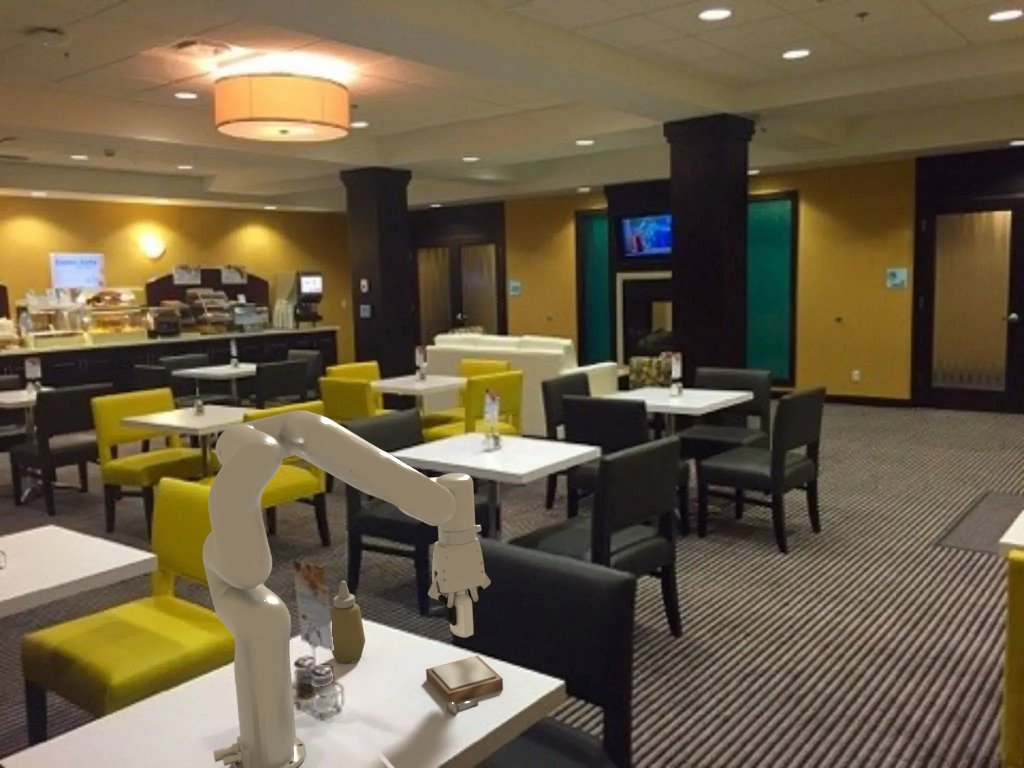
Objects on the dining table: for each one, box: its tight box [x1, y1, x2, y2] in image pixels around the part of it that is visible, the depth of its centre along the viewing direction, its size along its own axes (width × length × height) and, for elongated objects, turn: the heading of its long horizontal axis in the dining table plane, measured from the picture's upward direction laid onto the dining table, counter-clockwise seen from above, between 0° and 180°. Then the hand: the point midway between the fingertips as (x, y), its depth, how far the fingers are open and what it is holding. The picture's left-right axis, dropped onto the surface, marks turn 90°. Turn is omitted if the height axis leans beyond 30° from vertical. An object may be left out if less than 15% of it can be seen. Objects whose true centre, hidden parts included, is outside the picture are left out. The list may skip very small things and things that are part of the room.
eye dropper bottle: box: [449, 590, 474, 638], centre depth 176 cm, size 4×6×12 cm
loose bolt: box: [446, 697, 479, 716], centre depth 169 cm, size 6×3×3 cm, turn 120°
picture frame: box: [425, 655, 504, 704], centre depth 179 cm, size 12×12×3 cm
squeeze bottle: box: [329, 580, 366, 664], centre depth 193 cm, size 8×8×18 cm
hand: (461, 620), depth 177 cm, fingers closed on eye dropper bottle, 3 cm apart
